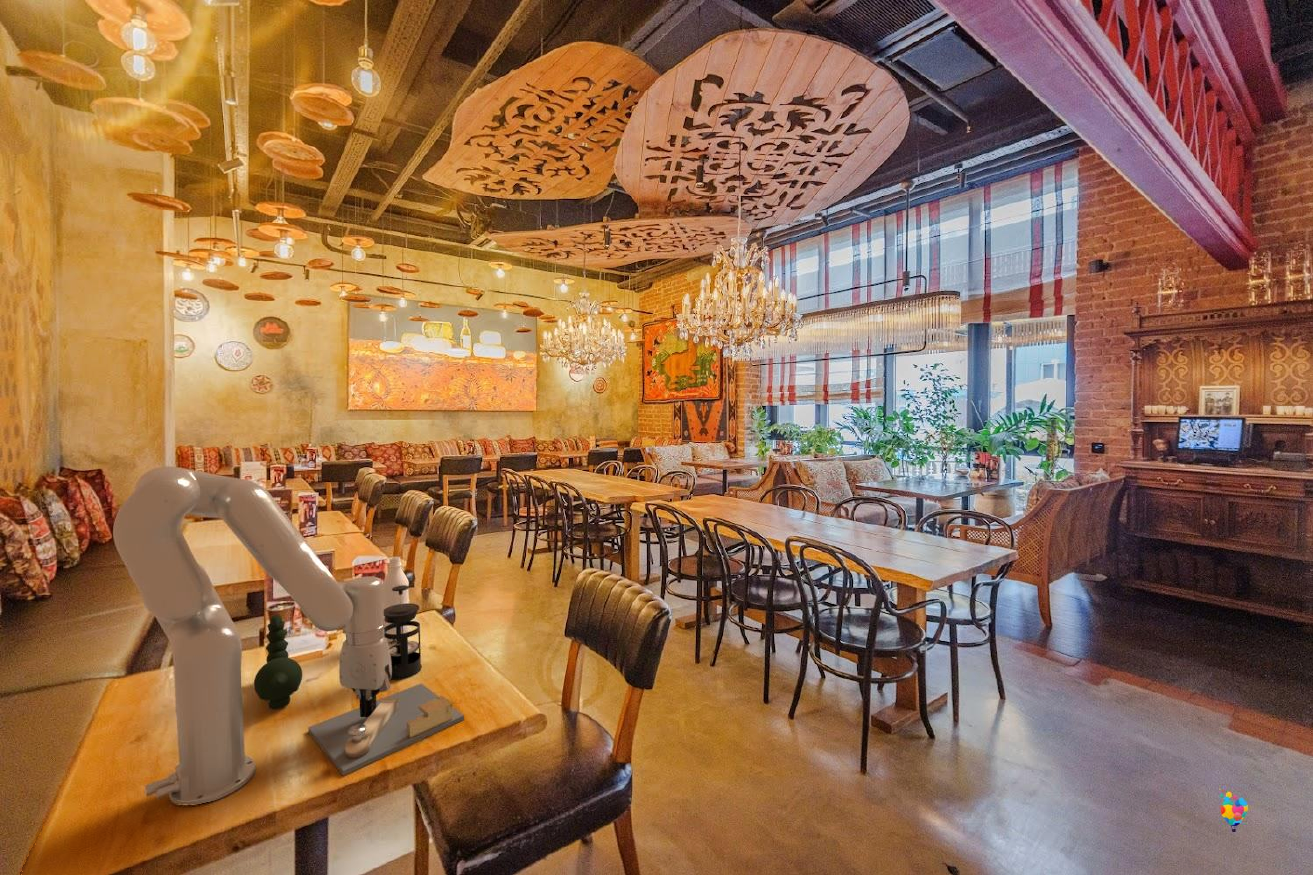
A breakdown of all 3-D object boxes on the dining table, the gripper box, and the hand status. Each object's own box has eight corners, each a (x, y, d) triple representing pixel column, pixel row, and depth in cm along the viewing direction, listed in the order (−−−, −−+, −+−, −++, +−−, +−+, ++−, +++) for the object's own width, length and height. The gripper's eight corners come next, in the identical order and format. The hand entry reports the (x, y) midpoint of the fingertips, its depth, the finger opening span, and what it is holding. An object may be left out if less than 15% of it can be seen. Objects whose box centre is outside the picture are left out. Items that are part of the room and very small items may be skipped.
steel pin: (351, 746, 108) (351, 735, 108) (345, 739, 110) (345, 729, 110) (368, 739, 110) (368, 728, 110) (362, 732, 113) (362, 722, 112)
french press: (421, 658, 152) (419, 578, 151) (427, 673, 145) (425, 588, 143) (374, 669, 146) (371, 585, 145) (377, 685, 138) (375, 596, 137)
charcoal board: (343, 775, 105) (343, 770, 105) (308, 731, 119) (308, 727, 119) (464, 719, 124) (463, 715, 123) (421, 687, 137) (421, 683, 137)
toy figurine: (256, 687, 140) (254, 726, 120) (253, 614, 140) (250, 640, 120) (300, 677, 145) (305, 712, 125) (297, 606, 146) (301, 629, 125)
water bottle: (399, 645, 161) (397, 562, 159) (378, 642, 162) (376, 560, 161) (415, 634, 168) (413, 555, 166) (394, 632, 169) (392, 553, 168)
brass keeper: (410, 738, 115) (409, 721, 115) (400, 730, 118) (400, 713, 118) (452, 719, 122) (452, 702, 122) (442, 711, 125) (442, 695, 125)
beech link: (363, 757, 108) (363, 746, 108) (341, 758, 108) (340, 747, 108) (400, 706, 126) (400, 697, 126) (381, 707, 126) (381, 697, 126)
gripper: (322, 638, 118) (326, 720, 119) (384, 644, 115) (387, 727, 117) (348, 624, 125) (351, 701, 127) (406, 629, 123) (409, 707, 124)
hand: (368, 713), depth 122 cm, fingers closed
